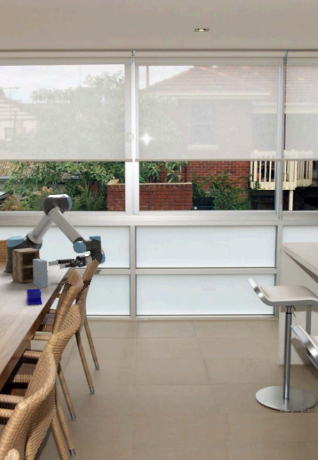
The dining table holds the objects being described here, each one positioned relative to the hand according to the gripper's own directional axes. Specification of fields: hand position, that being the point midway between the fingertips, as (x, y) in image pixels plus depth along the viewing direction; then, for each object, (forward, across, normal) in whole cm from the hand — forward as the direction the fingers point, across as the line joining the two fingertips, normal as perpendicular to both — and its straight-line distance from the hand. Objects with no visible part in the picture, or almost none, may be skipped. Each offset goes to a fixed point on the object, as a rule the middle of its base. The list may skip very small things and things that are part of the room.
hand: (54, 265), depth 370 cm
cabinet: (+10, +18, -11) cm, 24 cm away
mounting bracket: (+31, -30, -12) cm, 45 cm away
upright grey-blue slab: (+10, 0, -12) cm, 15 cm away
